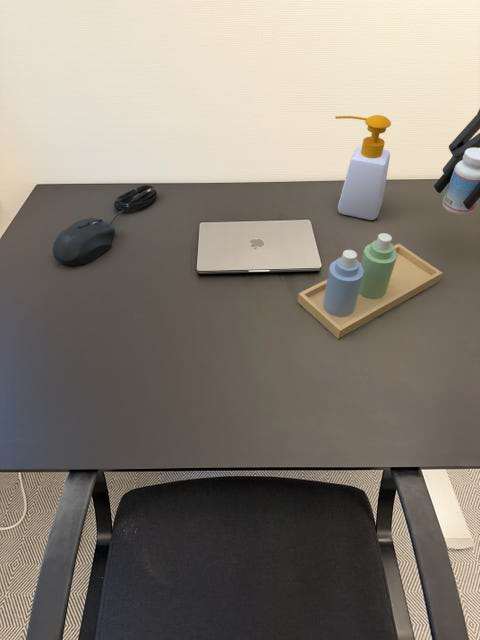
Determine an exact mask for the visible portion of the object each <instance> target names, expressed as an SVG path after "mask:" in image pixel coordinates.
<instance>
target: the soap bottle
mask: <svg viewBox="0 0 480 640" xmlns="http://www.w3.org/2000/svg"><path fill="white" fill-rule="evenodd" d="M334 117H335V119H337V120H338V119H353V120H359V121H360V120H362V121H364V123H365V125H366V126H367V129H366V130H367V131H368V132H369V133H371V135H370V136H366V137H364V138H363V140H362V145H358V146H357V147H356V148H355V150H354V151H353V154H352V156H351V157H350V158H351V159H350V160H349V163H348V168H347V171H346V175H345V178H344V182H343V185H342V190H341V193H340V197H339V200H338V204H337V211H338V213H339V214H341V215H344V216H350V217H354V218H359V219H364V220H368V221H375V220H376V219H377V218H378V216H379V214H380V211H381V208H382V205H383V202H384V197H385V190H386V183H387V177H388V172H389V166H390V159H391V153H390V150H388V149H385V147H384V146H385V144H386V143H385V140H384V139H383V138H381V137H380V134H385V132H386V130H387V128H390V127H391V126H392V121H391V120H390V119H389V118H387V116H384V115H381V114H373V115H371V116H367V117H363V116H355V115H337V116H336V115H335V116H334Z"/></svg>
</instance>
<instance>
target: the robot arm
mask: <svg viewBox="0 0 480 640" xmlns="http://www.w3.org/2000/svg"><path fill="white" fill-rule="evenodd" d="M479 131H480V108H479V109H478V111H477V113H476V115H474V117H473V118H472V119H471V120H470V122H468V124H467V125H466V126H465V127H464V128H463V129H462V130H461V131H460V133H458V135H457V136H456V137H455V138H454V139H453V141H451V142H450V143H449V145H448V149H449V152H450V154H451V155H452V156H451V158H450V159H449V160H448V161H447V163H446V164H444V166H443V168H442V170H441V171H442V173H443V174H441V176H440V178H439V179H437V181H436V183H435V184H434V185H433V188H434V190H435V191H436V192H437V193H438V194H441V193H442V192H443V191H444V190H445V188H446V187H448V185H449V182H450V180H451V177H452V174H453V171H454V168H455V166H456V164H457V163H458V162H460V161H461V160H463V155H464V153H465V151H466V150H467V149H468V148H480V132H479ZM476 133H477V134H476ZM478 199H479V200H480V183H479V184H478V185H477V186H476V187H475V189H474V190H473V191H472V192H471V193H470V195H469V196H468V197H467V198H466V199H465V201H464V202H463V203H464V205H465V207H466V208H467V209H469V210H470V208H471V207H472V206H473V205H474V204H475V203H476V201H477V200H478ZM479 200H478V201H479Z"/></svg>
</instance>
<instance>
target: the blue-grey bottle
mask: <svg viewBox="0 0 480 640" xmlns="http://www.w3.org/2000/svg"><path fill="white" fill-rule="evenodd" d="M357 258H358V253H357V252H356V251H355V250H353V249H345V250H344V251H342V255H341V256H340V257H338V258H337V259H336V260H334V261H332V262H331V263H330V264H329V268H328V272H327V278H326V280H327V284H326V289H325V295H324V300H323V307H324V309H325V310H326V311H327V312H328V313H329V314H331V315H333V316H337V317H345V316H348V315H350V314H352V313H353V311H354V309H355V305H356V301H357V297H358V293H359V289H360V286H361V282H362V278H363V274H364V270H363V268H362V266H361V265H360V264H359V263H360V261H359V260H358V259H357Z"/></svg>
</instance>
